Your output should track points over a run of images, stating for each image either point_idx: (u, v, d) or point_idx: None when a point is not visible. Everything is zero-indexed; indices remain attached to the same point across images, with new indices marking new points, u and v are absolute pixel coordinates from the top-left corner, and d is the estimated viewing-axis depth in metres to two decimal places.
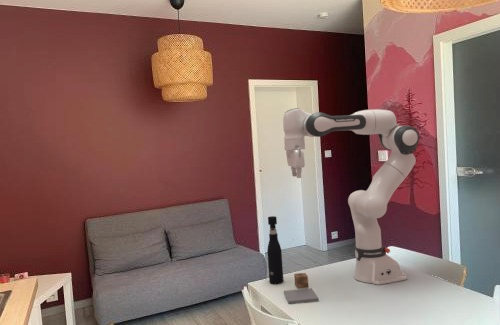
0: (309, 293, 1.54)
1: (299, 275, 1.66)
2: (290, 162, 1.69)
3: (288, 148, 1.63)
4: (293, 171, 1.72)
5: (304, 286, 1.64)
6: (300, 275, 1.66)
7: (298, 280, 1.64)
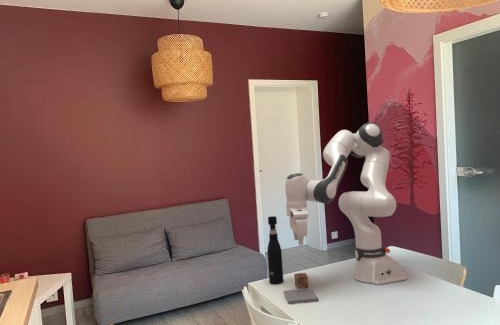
0: (309, 293, 1.54)
1: (299, 275, 1.66)
2: None
3: None
4: None
5: (304, 286, 1.64)
6: (300, 275, 1.66)
7: (298, 280, 1.64)
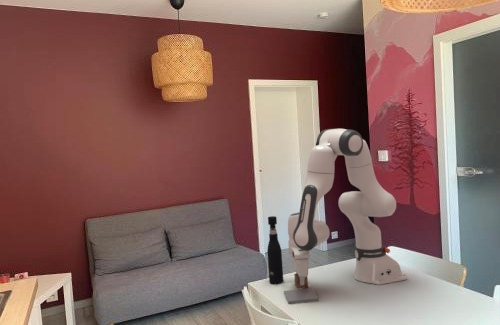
0: (309, 293, 1.54)
1: None
2: None
3: None
4: None
5: (304, 286, 1.64)
6: None
7: (297, 280, 1.63)
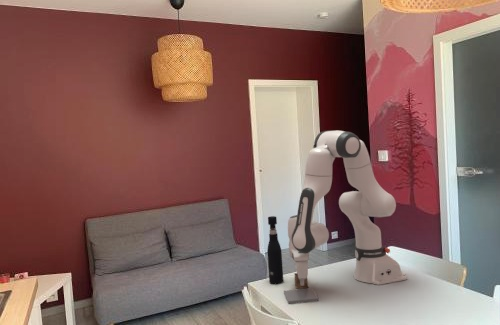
0: (309, 293, 1.54)
1: None
2: None
3: None
4: None
5: (303, 286, 1.64)
6: None
7: (297, 280, 1.64)
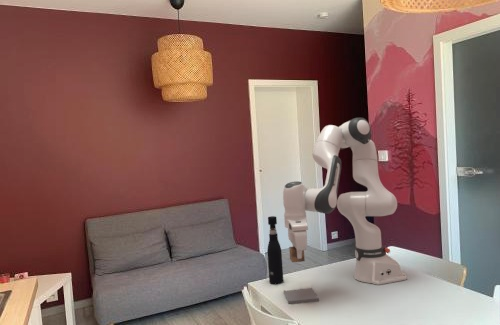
0: (309, 293, 1.54)
1: (295, 248, 1.53)
2: None
3: None
4: None
5: (300, 259, 1.51)
6: (295, 248, 1.53)
7: (293, 253, 1.51)
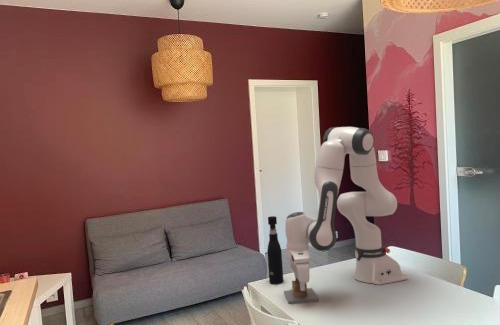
0: (309, 293, 1.54)
1: (297, 282, 1.54)
2: None
3: None
4: None
5: (303, 294, 1.52)
6: (298, 282, 1.53)
7: (296, 288, 1.51)
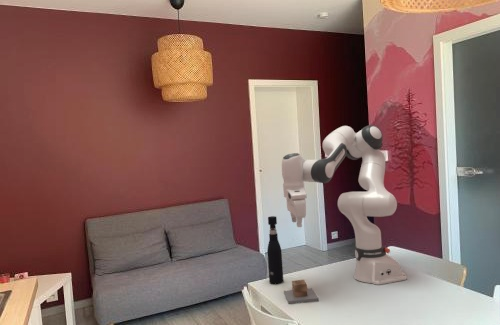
0: (309, 293, 1.54)
1: (297, 282, 1.54)
2: None
3: None
4: None
5: (303, 294, 1.52)
6: (298, 282, 1.53)
7: (296, 288, 1.51)
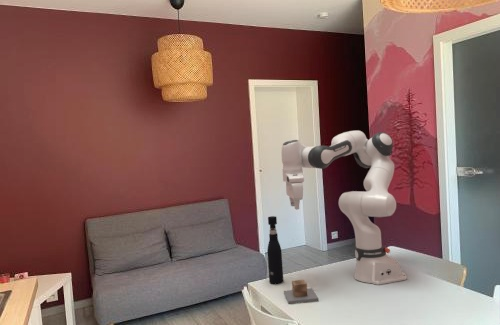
0: (309, 293, 1.54)
1: (297, 282, 1.54)
2: None
3: None
4: None
5: (303, 294, 1.52)
6: (298, 282, 1.53)
7: (296, 288, 1.51)
